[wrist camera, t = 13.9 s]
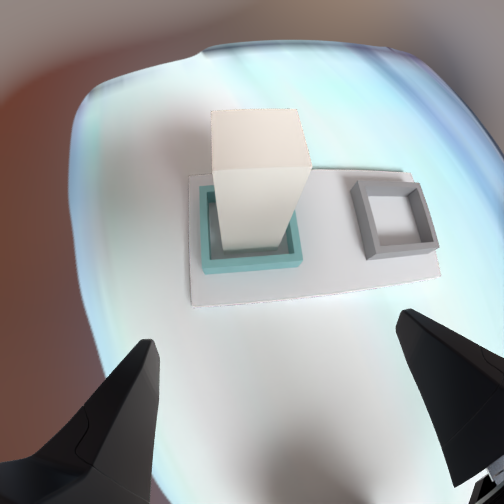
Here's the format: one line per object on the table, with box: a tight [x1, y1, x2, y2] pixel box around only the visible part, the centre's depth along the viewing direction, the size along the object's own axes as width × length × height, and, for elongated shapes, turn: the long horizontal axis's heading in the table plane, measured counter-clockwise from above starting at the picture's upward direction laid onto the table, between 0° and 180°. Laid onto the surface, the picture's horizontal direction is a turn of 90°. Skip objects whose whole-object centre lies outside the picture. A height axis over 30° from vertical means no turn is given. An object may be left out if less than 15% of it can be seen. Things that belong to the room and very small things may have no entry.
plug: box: [211, 109, 312, 255], centre depth 18 cm, size 5×4×12 cm
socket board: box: [189, 169, 441, 308], centre depth 24 cm, size 24×12×3 cm, turn 96°
